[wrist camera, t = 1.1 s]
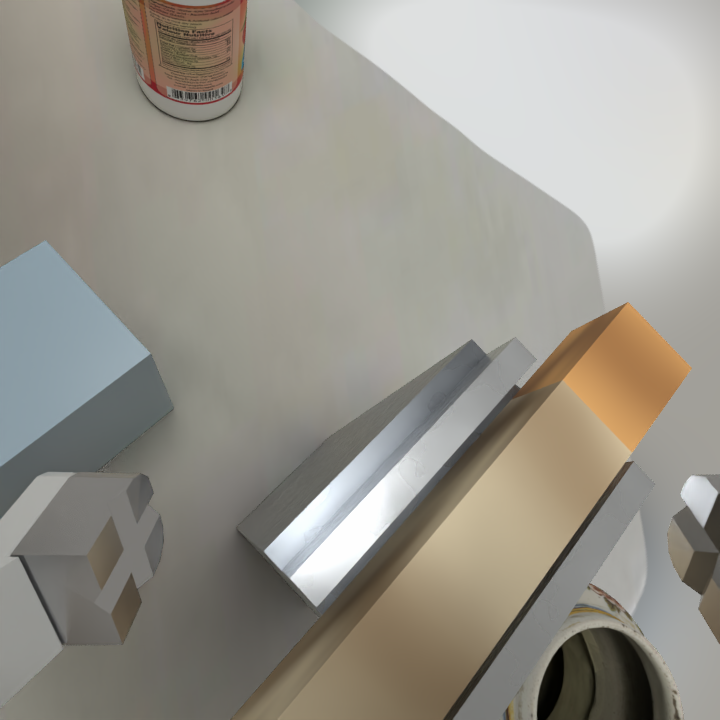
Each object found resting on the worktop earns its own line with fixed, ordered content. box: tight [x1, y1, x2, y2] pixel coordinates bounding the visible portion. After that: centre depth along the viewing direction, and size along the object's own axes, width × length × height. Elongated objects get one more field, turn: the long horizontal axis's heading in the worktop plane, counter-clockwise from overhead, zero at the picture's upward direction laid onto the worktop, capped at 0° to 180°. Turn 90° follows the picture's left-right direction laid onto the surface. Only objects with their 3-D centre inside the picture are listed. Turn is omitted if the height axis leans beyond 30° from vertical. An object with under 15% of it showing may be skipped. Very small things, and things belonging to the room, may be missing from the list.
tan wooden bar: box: [231, 302, 692, 720], centre depth 15 cm, size 22×3×3 cm, turn 136°
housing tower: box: [236, 337, 655, 720], centre depth 28 cm, size 12×8×28 cm, turn 136°
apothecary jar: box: [499, 584, 684, 720], centre depth 33 cm, size 12×12×18 cm
